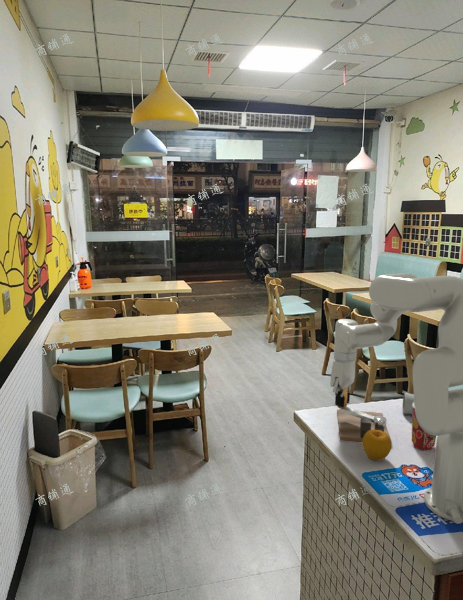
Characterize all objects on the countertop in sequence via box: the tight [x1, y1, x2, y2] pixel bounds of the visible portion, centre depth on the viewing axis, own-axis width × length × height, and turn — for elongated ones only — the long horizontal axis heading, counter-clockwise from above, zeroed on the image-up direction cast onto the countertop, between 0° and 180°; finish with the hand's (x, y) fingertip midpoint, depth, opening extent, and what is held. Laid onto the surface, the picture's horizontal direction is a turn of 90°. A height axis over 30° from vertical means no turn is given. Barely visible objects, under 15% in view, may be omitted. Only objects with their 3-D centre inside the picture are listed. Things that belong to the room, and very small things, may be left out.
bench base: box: [336, 408, 391, 444], centre depth 149 cm, size 20×16×7 cm
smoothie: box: [411, 403, 437, 451], centre depth 136 cm, size 8×8×20 cm
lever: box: [336, 386, 387, 427], centre depth 147 cm, size 18×4×10 cm, turn 47°
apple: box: [361, 430, 392, 461], centre depth 131 cm, size 9×8×9 cm
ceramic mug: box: [401, 392, 414, 416], centre depth 161 cm, size 11×8×8 cm
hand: (342, 403), depth 152 cm, fingers closed on lever, 3 cm apart
